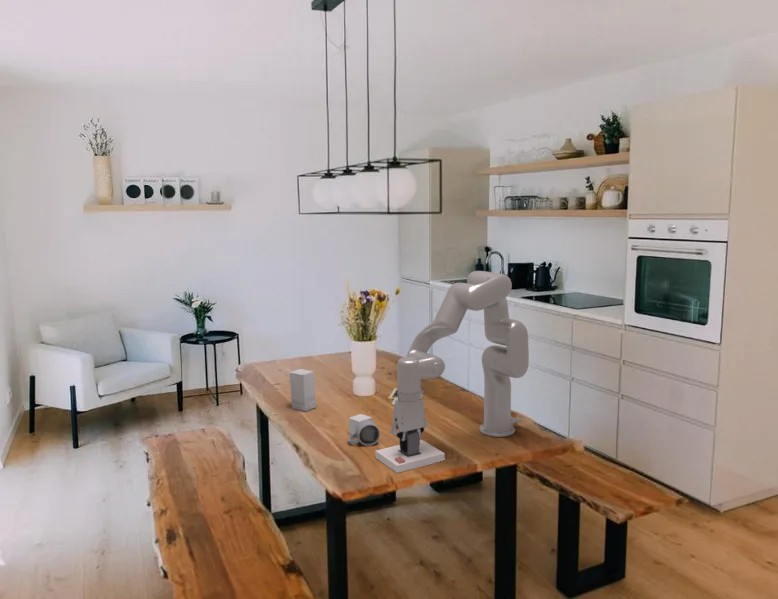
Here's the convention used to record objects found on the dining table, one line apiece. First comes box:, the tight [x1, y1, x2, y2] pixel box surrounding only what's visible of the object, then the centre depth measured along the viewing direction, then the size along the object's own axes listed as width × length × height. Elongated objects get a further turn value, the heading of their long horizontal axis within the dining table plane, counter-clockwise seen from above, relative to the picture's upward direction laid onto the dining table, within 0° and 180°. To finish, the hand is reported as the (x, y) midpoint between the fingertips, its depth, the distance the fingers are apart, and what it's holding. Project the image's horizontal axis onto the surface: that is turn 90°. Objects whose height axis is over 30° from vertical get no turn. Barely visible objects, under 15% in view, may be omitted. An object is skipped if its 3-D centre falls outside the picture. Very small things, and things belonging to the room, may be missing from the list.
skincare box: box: [289, 368, 317, 412], centre depth 259 cm, size 8×7×16 cm
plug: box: [401, 430, 419, 457], centre depth 207 cm, size 4×5×10 cm
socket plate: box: [374, 439, 446, 474], centre depth 208 cm, size 18×14×3 cm
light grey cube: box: [348, 413, 373, 438], centre depth 231 cm, size 6×6×6 cm
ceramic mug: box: [347, 420, 381, 447], centre depth 223 cm, size 11×8×8 cm
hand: (409, 448), depth 208 cm, fingers closed on plug, 4 cm apart
